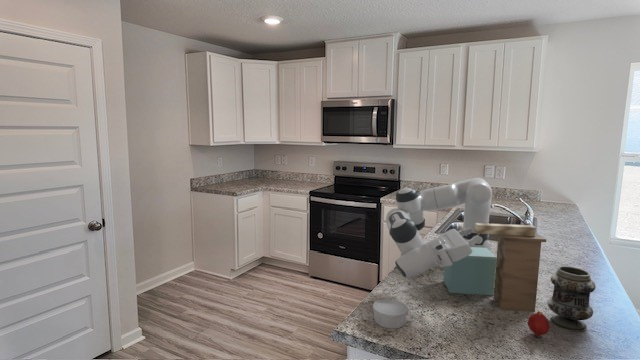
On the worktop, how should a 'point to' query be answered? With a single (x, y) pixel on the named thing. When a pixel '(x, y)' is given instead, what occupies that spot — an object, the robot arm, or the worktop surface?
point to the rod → (505, 229)
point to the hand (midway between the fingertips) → (475, 233)
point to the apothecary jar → (571, 298)
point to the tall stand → (517, 271)
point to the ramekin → (390, 313)
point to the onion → (538, 324)
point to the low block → (472, 273)
